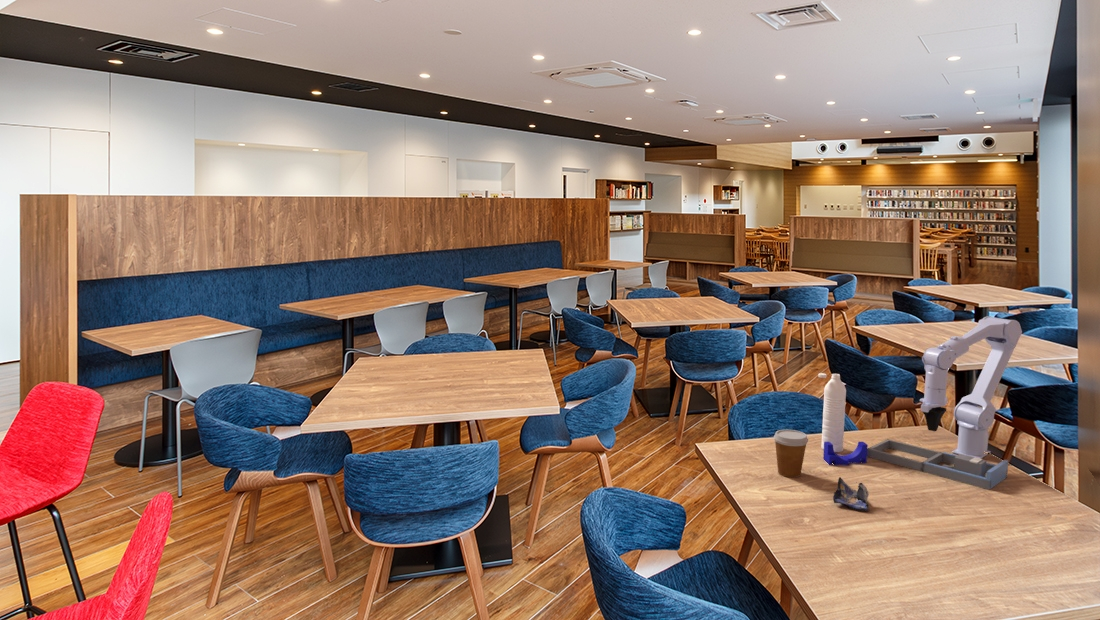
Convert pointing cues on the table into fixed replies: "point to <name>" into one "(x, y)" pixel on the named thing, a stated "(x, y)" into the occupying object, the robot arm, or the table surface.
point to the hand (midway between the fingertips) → (932, 430)
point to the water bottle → (833, 412)
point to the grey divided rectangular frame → (930, 465)
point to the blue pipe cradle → (854, 457)
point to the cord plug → (969, 465)
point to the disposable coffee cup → (790, 451)
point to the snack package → (847, 493)
